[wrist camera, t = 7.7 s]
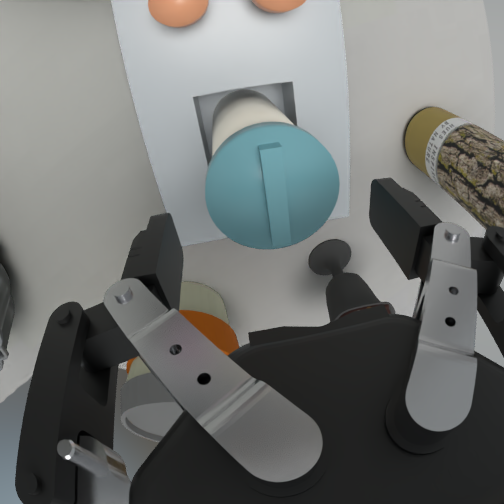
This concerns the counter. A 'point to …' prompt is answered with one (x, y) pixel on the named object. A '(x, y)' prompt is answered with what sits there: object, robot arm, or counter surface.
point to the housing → (231, 89)
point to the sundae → (342, 281)
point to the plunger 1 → (177, 11)
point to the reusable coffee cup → (147, 386)
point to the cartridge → (266, 174)
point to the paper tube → (460, 161)
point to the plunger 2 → (278, 5)
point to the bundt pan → (5, 314)
